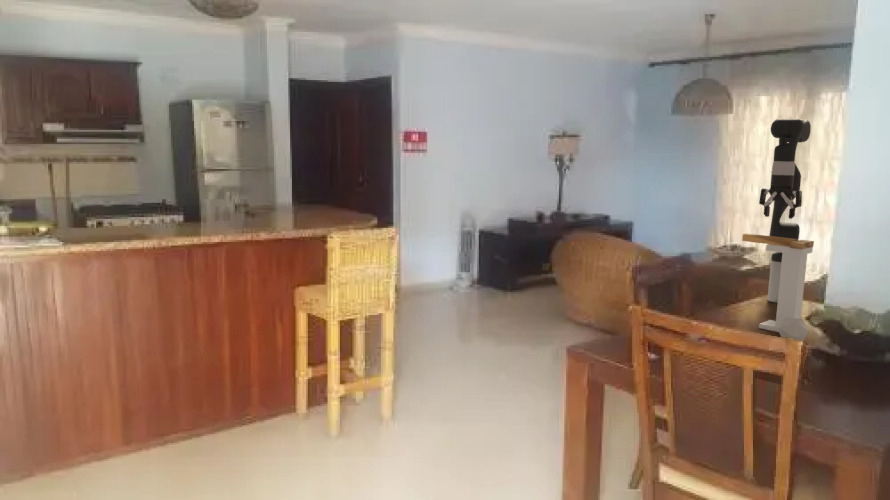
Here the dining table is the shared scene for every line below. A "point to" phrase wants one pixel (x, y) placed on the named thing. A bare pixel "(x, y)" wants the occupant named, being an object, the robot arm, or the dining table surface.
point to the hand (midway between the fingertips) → (778, 217)
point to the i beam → (789, 284)
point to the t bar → (778, 241)
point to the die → (793, 328)
